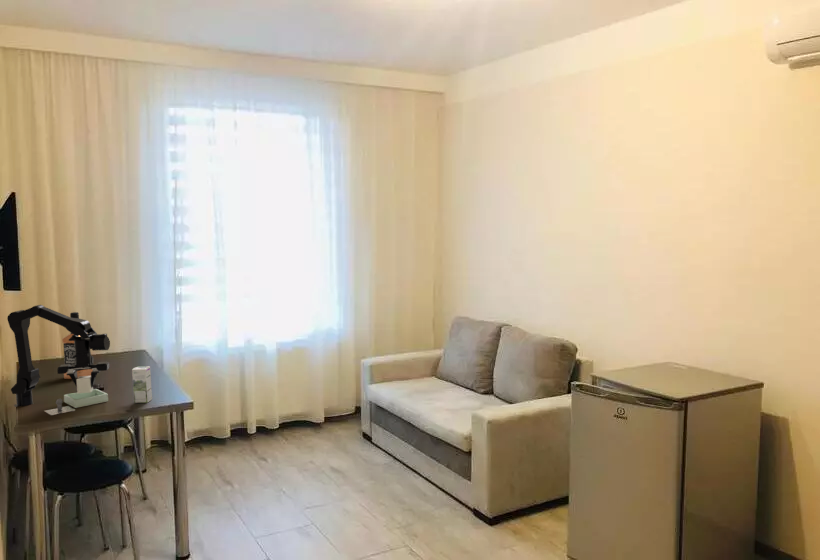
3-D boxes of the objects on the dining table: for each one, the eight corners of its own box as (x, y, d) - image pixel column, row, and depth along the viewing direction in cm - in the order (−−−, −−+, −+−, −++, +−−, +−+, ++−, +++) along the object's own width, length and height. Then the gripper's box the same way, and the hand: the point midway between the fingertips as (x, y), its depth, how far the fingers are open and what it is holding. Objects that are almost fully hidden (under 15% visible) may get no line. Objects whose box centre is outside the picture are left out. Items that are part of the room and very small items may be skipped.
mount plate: (44, 413, 264) (43, 399, 264) (68, 408, 271) (67, 394, 270) (51, 417, 258) (50, 403, 257) (76, 412, 264) (75, 398, 264)
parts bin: (64, 404, 277) (63, 394, 277) (97, 398, 286) (96, 388, 286) (75, 410, 268) (74, 400, 267) (108, 403, 277) (107, 393, 276)
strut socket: (77, 393, 273) (76, 379, 273) (80, 390, 278) (79, 376, 278) (90, 392, 275) (89, 378, 274) (93, 389, 279) (92, 375, 279)
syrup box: (152, 399, 281) (150, 365, 280) (147, 403, 276) (145, 368, 274) (138, 399, 281) (136, 366, 280) (133, 403, 275) (131, 369, 274)
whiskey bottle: (62, 378, 324) (57, 313, 321) (78, 374, 334) (73, 310, 331) (79, 379, 321) (75, 314, 318) (95, 375, 331) (90, 311, 328)
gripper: (110, 345, 285) (112, 381, 286) (62, 348, 280) (65, 385, 282) (105, 350, 274) (108, 387, 276) (55, 353, 270) (58, 391, 271)
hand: (85, 387), depth 276 cm, fingers closed on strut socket, 5 cm apart
